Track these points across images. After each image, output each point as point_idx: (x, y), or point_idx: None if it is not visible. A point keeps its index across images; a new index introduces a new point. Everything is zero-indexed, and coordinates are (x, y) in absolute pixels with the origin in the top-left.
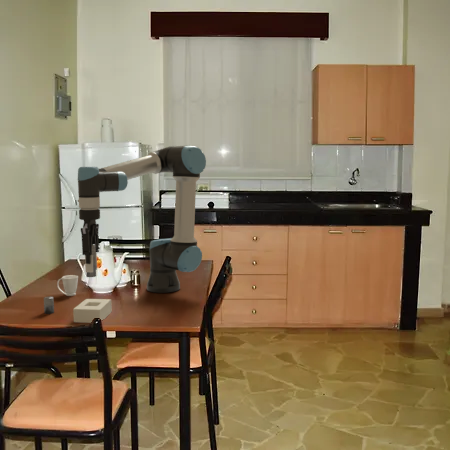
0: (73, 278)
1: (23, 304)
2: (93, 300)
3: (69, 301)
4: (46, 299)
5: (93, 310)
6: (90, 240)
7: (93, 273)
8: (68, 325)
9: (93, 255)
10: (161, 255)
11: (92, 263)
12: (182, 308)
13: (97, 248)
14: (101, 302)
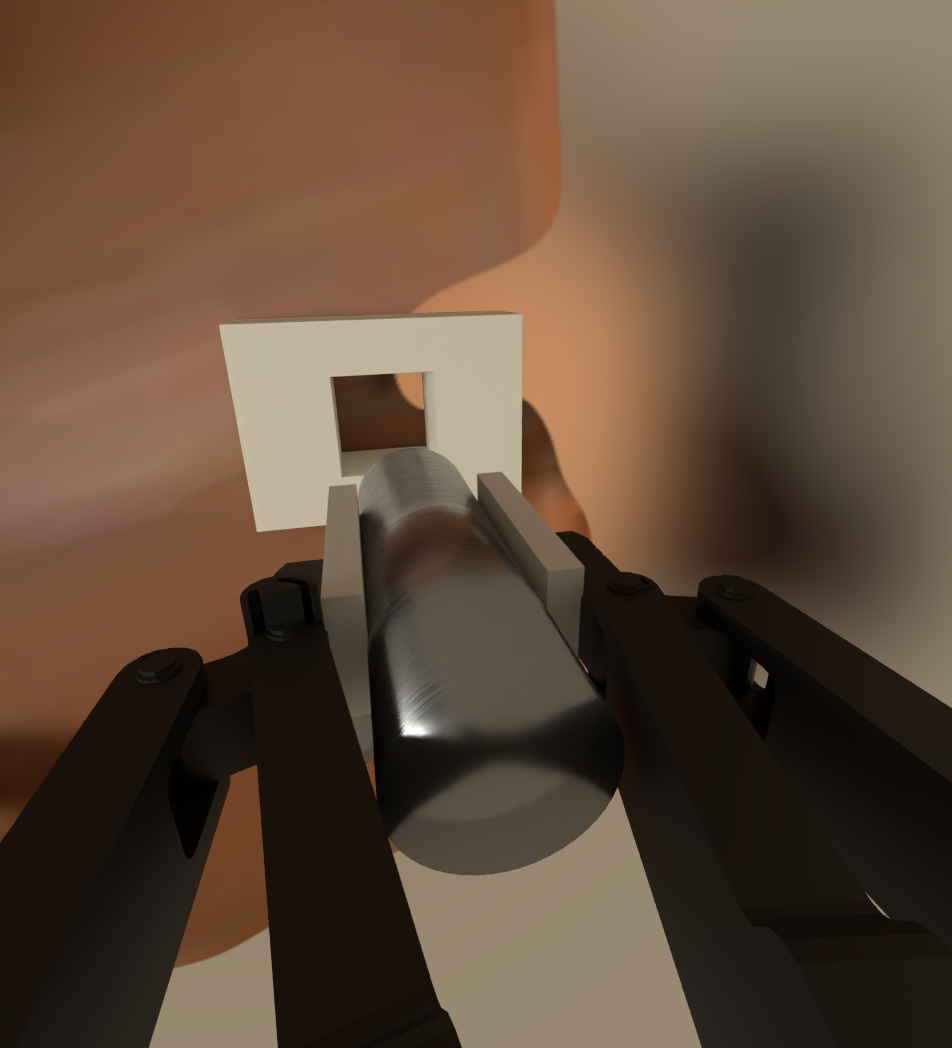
0: None
1: (232, 868)
2: (289, 460)
3: (81, 699)
4: None
5: (520, 363)
6: (792, 807)
7: (456, 472)
8: (553, 481)
9: (508, 564)
10: None
11: (529, 510)
12: None
13: (199, 664)
14: (331, 375)
